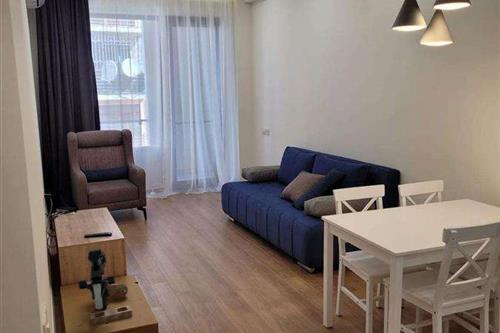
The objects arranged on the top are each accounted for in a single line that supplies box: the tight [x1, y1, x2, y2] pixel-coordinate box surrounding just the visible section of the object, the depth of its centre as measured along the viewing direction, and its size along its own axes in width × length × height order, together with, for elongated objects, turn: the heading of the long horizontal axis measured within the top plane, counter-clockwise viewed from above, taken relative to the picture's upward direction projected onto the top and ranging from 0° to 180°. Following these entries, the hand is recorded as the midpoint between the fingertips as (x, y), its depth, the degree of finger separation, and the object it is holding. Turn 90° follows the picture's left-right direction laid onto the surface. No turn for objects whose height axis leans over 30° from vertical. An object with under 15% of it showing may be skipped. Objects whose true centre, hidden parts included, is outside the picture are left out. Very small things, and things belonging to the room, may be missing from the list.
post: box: [92, 283, 103, 310], centre depth 246 cm, size 4×4×13 cm
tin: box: [106, 282, 129, 300], centre depth 275 cm, size 15×3×8 cm, turn 94°
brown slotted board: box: [90, 304, 133, 325], centre depth 250 cm, size 21×7×3 cm, turn 111°
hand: (97, 297), depth 245 cm, fingers closed on post, 4 cm apart
